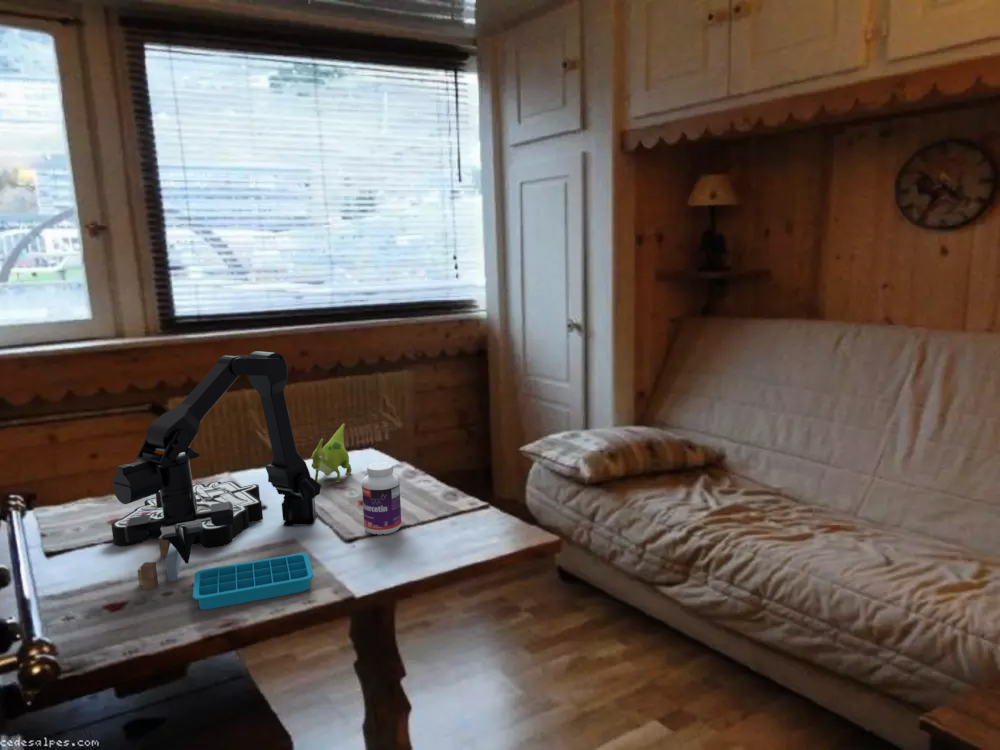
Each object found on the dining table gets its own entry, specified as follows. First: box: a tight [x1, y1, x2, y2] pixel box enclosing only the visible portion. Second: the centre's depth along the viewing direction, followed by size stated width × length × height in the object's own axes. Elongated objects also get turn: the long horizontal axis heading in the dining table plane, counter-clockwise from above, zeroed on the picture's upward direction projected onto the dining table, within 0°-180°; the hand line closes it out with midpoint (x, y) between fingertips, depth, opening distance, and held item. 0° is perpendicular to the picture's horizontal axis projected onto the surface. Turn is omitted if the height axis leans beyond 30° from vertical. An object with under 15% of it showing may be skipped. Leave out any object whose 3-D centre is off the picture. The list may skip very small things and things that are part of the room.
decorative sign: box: [110, 480, 264, 549], centre depth 163 cm, size 28×4×30 cm
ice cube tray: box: [192, 552, 315, 610], centre depth 130 cm, size 12×20×3 cm, turn 111°
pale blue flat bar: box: [165, 528, 184, 583], centre depth 139 cm, size 2×15×5 cm, turn 19°
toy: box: [310, 423, 353, 483], centre depth 190 cm, size 8×21×15 cm, turn 171°
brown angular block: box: [158, 535, 170, 557], centre depth 145 cm, size 2×3×4 cm, turn 5°
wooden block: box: [137, 561, 159, 591], centre depth 132 cm, size 4×5×4 cm
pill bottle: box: [361, 461, 402, 536], centre depth 154 cm, size 8×8×14 cm
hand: (187, 562), depth 137 cm, fingers closed
